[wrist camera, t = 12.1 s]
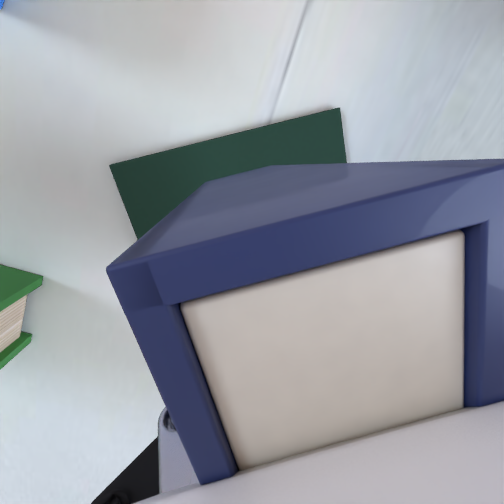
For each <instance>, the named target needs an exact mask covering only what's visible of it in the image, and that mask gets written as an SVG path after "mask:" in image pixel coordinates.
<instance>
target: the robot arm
mask: <svg viewBox="0 0 504 504" xmlns="http://www.w3.org/2000/svg"><path fill="white" fill-rule="evenodd" d="M91 504H504V401H500V402H497V403H493V404H489V405H486V406H481V407H465V408H462V409H459V410H455V411H452V412H448V413H444V414H441V415H437V416H433V417H430V418H426V419H422V420H419V421H415V422H412V423H408V424H405V425H401V426H397V427H394V428H390V429H387V430H383V431H380V432H376V433H372V434H369V435H365V436H362V437H358V438H355V439H351V440H348V441H344V442H340V443H337V444H333V445H330V446H326V447H322V448H319V449H315V450H312V451H308V452H305V453H301V454H297V455H294V456H290V457H287V458H283V459H280V460H276V461H273V462H269V463H266V464H262V465H259V466H255V467H252V468H248V469H245V470H241V471H240V470H239V471H238V472H237V473H236V474H235V475H234V476H232V477H229V478H225V479H222V480H219V481H215V482H212V483H208V484H205V485H200V483H199V481H198V478H197V476H196V474H195V472H194V469H193V467H192V465H191V462H190V460H189V458H188V456H187V453H186V451H185V449H184V447H183V444H182V442H181V440H180V437H179V435H178V433H177V431H176V428H175V426H174V424H173V422H172V419H171V417H170V415H169V412H168V410H167V408H166V407H165V408H164V409H163V411H162V412H161V414H160V416H159V420H158V437H157V438H156V439H155V440H154V441H153V442H152V443H151V444H150V445H149V446H148V447H147V448H146V449H145V450H144V451H143V452H142V453H141V454H140V455H139V456H138V457H137V458H136V459H135V460H134V461H133V462H132V463H131V464H130V465H129V466H128V467H127V468H126V469H125V470H124V471H123V472H122V473H121V474H120V475H119V476H118V477H117V478H116V479H115V480H114V481H113V482H112V483H111V484H110V485H109V486H108V487H107V488H106V489H105V490H104V491H103V492H102V493H101V494H100V495H99V496H98V497H97V498H96V499H95V500H94V501H93V502H92V503H91Z"/></svg>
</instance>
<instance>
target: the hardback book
mask: <svg viewBox="0 0 504 504" xmlns="http://www.w3.org/2000/svg"><path fill="white" fill-rule="evenodd" d="M42 280H43V276H40V275H36V274H33V273H29V272H25V271H22V270H18V269H15V268H11V267H7V266H4V265H0V369H1V368H3V367H4V366H5V365H6V364H7V363H8V362H9V361H10V360H11V359H13V358H14V357H15V356H16V355H17V354H18V353H19V352H20V351H21V350H22V349H24V348H25V347H26V346H27V345H28V344H29V343H30V342H31V337H32V334H28V333H24V332H21V328H22V322H23V316H24V311H25V305H26V300H27V294H29V293H30V292H32V291H33V290H35V289H36V288H38V287H39V286H41V285H42Z"/></svg>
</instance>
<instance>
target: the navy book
mask: <svg viewBox="0 0 504 504" xmlns="http://www.w3.org/2000/svg"><path fill="white" fill-rule="evenodd" d="M106 272H107V274H108V277H109V279H110V281H111V284H112V286H113V288H114V290H115V293H116V295H117V297H118V299H119V302H120V304H121V306H122V309H123V311H124V313H125V315H126V317H127V319H128V322H129V324H130V326H131V328H132V331H133V333H134V335H135V337H136V340H137V342H138V344H139V347H140V349H141V351H142V353H143V356H144V358H145V360H146V362H147V365H148V367H149V369H150V372H151V374H152V376H153V378H154V381H155V383H156V385H157V387H158V390H159V392H160V394H161V397H162V399H163V401H164V403H165V406H166V408H167V410H168V412H169V415H170V417H171V419H172V422H173V424H174V426H175V428H176V431H177V433H178V435H179V437H180V440H181V442H182V444H183V447H184V449H185V451H186V453H187V456H188V458H189V460H190V462H191V465H192V467H193V469H194V472H195V474H196V476H197V478H198V481H199V483H200V485H205V484H208V483H212V482H215V481H219V480H222V479H225V478H229V477H232V476H234V475H235V474H236V473H237V472H238V471H239V470H240V471H241V470H245V469H248V468H252V467H255V466H259V465H262V464H266V463H269V462H273V461H276V460H280V459H283V458H287V457H290V456H294V455H297V454H301V453H305V452H308V451H312V450H315V449H319V448H322V447H326V446H330V445H333V444H337V443H340V442H344V441H348V440H351V439H355V438H358V437H362V436H365V435H369V434H372V433H376V432H380V431H383V430H387V429H390V428H394V427H397V426H401V425H405V424H408V423H412V422H415V421H419V420H422V419H426V418H430V417H433V416H437V415H441V414H444V413H448V412H452V411H455V410H459V409H462V408H465V407H481V406H486V405H489V404H493V403H497V402H500V401H504V159H477V160H442V161H407V162H371V163H336V164H301V165H270V166H266V167H262V168H259V169H255V170H251V171H247V172H243V173H239V174H235V175H231V176H227V177H223V178H219V179H215V180H211V181H207V182H205V183H204V184H203V185H201V186H200V187H199V188H198V189H197V190H196V191H194V192H193V193H192V194H191V195H190V196H189V197H187V198H186V199H185V200H184V201H183V202H182V203H180V204H179V205H178V206H177V207H176V208H175V209H173V210H172V211H171V212H170V213H169V214H168V215H166V216H165V217H164V218H163V219H162V220H161V221H160V222H158V223H157V224H156V225H155V226H154V227H153V228H151V229H150V230H149V231H148V232H147V233H146V234H144V235H143V236H142V237H141V238H140V239H139V240H137V241H136V242H135V243H134V244H133V245H132V246H130V247H129V248H128V249H127V250H126V251H125V252H123V253H122V254H121V255H120V256H119V257H118V258H116V259H115V260H114V261H113V262H112V263H111V264H109V265H108V266H107V267H106Z"/></svg>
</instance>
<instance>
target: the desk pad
mask: <svg viewBox="0 0 504 504" xmlns="http://www.w3.org/2000/svg"><path fill="white" fill-rule="evenodd" d="M336 163H347V161H346V153H345V145H344V137H343V129H342V121H341V113H340V108H335V109H331V110H327V111H323V112H319V113H315V114H311V115H307V116H303V117H299V118H295V119H291V120H287V121H283V122H279V123H275V124H271V125H267V126H263V127H259V128H255V129H251V130H247V131H243V132H239V133H235V134H231V135H227V136H223V137H219V138H215V139H211V140H207V141H203V142H199V143H195V144H191V145H187V146H183V147H179V148H175V149H171V150H167V151H163V152H159V153H155V154H151V155H147V156H143V157H139V158H135V159H131V160H127V161H123V162H119V163H115V164H111V165H109V166H110V169H111V172H112V174H113V177H114V179H115V182H116V185H117V187H118V190H119V192H120V195H121V198H122V200H123V203H124V205H125V208H126V211H127V213H128V216H129V218H130V221H131V223H132V226H133V229H134V231H135V234H136V236H137V239H138V240H139V239H140V238H141V237H142V236H143V235H144V234H146V233H147V232H148V231H149V230H150V229H151V228H153V227H154V226H155V225H156V224H157V223H158V222H160V221H161V220H162V219H163V218H164V217H165V216H166V215H168V214H169V213H170V212H171V211H172V210H173V209H175V208H176V207H177V206H178V205H179V204H180V203H182V202H183V201H184V200H185V199H186V198H187V197H189V196H190V195H191V194H192V193H193V192H194V191H196V190H197V189H198V188H199V187H200V186H201V185H203V184H204V183H205V182H207V181H211V180H215V179H219V178H223V177H227V176H231V175H235V174H239V173H243V172H247V171H251V170H255V169H259V168H262V167H266V166H270V165H301V164H336Z"/></svg>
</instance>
